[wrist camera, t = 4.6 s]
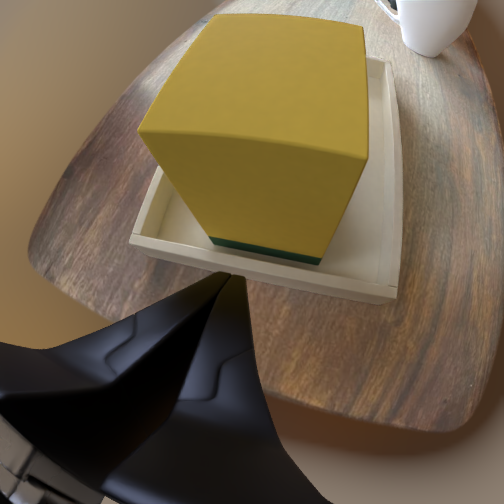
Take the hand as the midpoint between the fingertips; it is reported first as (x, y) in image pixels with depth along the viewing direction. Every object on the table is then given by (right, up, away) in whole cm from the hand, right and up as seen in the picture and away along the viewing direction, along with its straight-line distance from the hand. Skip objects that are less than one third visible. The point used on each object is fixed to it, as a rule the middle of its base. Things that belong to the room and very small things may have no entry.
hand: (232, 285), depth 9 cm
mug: (+18, +25, +13) cm, 33 cm away
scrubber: (+2, +4, +8) cm, 9 cm away
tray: (+3, +8, +10) cm, 13 cm away
